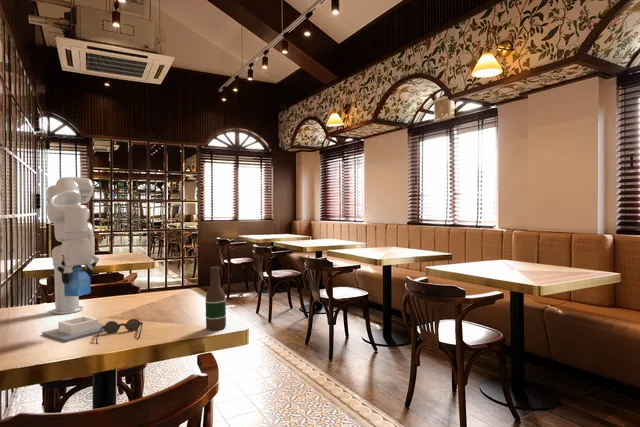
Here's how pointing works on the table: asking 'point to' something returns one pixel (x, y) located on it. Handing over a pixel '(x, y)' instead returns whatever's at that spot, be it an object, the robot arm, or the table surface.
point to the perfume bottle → (77, 283)
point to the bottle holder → (75, 329)
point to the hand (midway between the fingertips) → (77, 281)
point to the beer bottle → (215, 303)
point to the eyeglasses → (114, 327)
